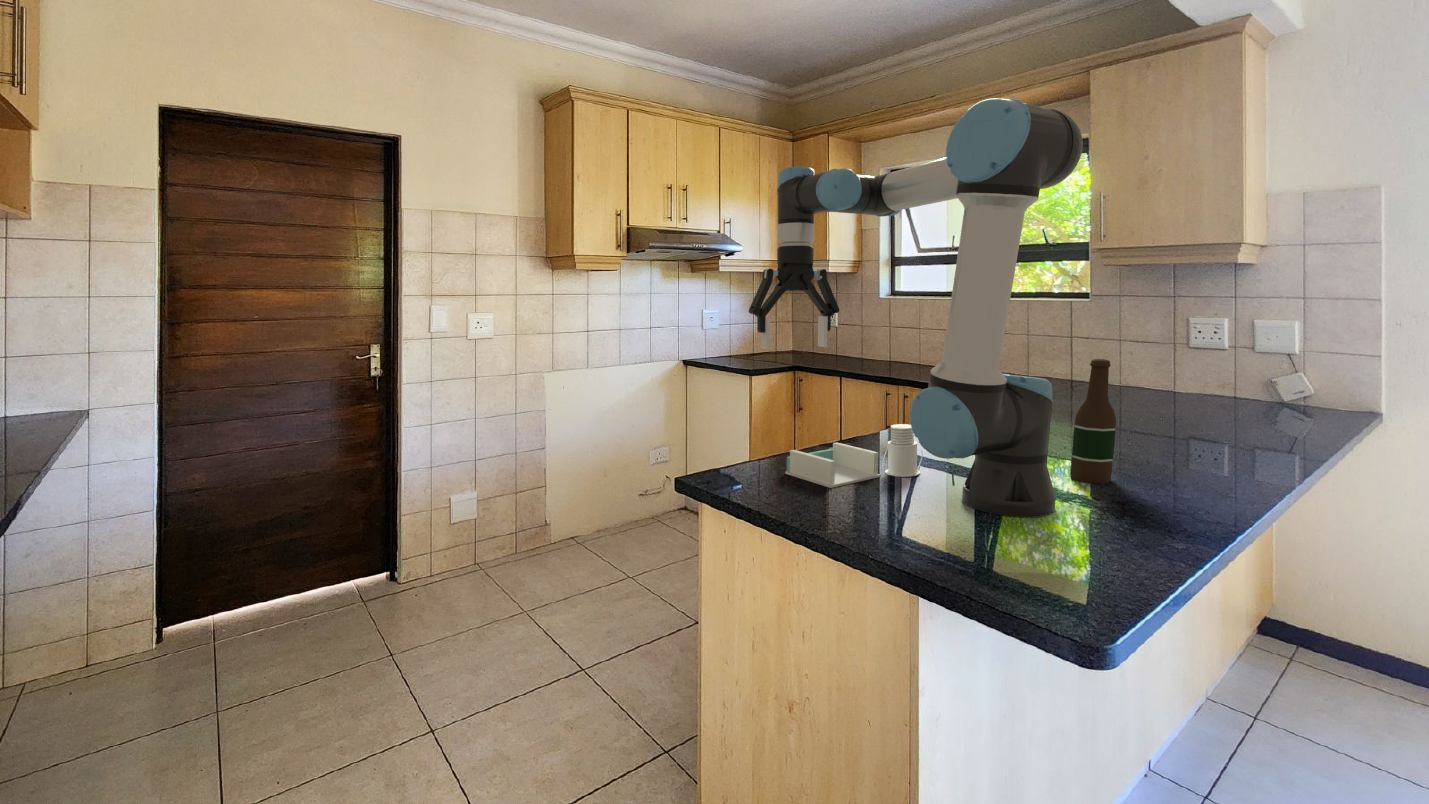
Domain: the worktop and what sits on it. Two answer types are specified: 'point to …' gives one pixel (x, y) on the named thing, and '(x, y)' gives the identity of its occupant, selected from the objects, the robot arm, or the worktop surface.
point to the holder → (834, 465)
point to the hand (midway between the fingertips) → (794, 347)
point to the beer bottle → (1094, 430)
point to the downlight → (902, 452)
